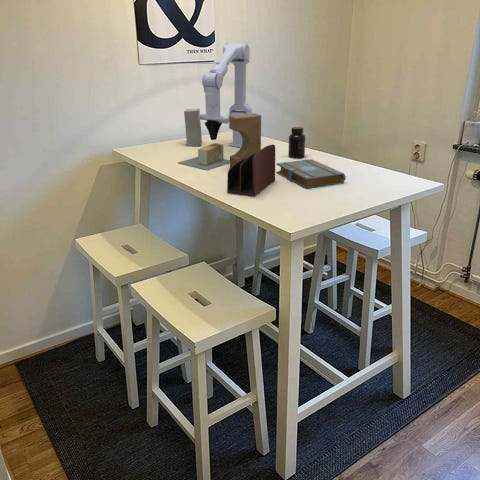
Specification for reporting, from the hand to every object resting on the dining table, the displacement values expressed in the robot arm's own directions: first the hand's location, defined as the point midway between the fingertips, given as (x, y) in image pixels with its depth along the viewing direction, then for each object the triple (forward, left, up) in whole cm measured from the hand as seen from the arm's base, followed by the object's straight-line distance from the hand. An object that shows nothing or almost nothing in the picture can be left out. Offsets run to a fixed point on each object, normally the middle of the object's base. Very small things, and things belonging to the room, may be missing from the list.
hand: (213, 139), depth 194 cm
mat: (+5, 0, -8) cm, 10 cm away
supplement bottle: (-26, +23, -9) cm, 36 cm away
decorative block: (+1, +17, -9) cm, 19 cm away
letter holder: (+18, +33, -9) cm, 39 cm away
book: (-3, +43, -9) cm, 44 cm away
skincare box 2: (-3, 0, -5) cm, 6 cm away
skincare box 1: (-15, -26, -9) cm, 31 cm away
